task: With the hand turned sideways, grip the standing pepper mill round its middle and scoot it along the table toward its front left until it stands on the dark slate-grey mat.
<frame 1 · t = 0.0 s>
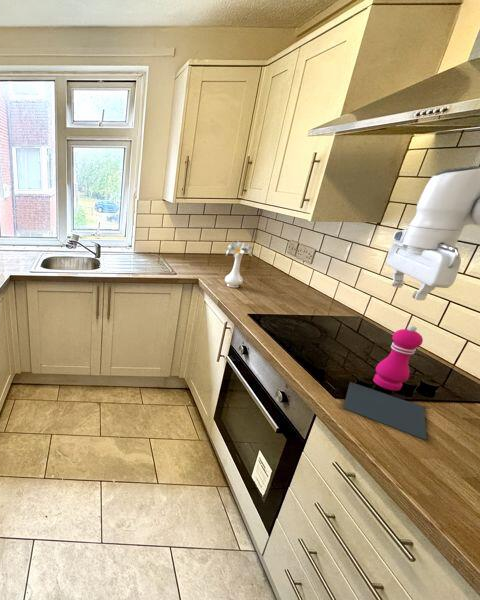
hand: (406, 292, 81), 31 cm above the worktop, tool pointing down, fingers open, 8 cm apart
flower vase: (231, 285, 178), on the worktop
pepper mill: (386, 384, 96), on the worktop
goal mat: (383, 407, 86), on the worktop
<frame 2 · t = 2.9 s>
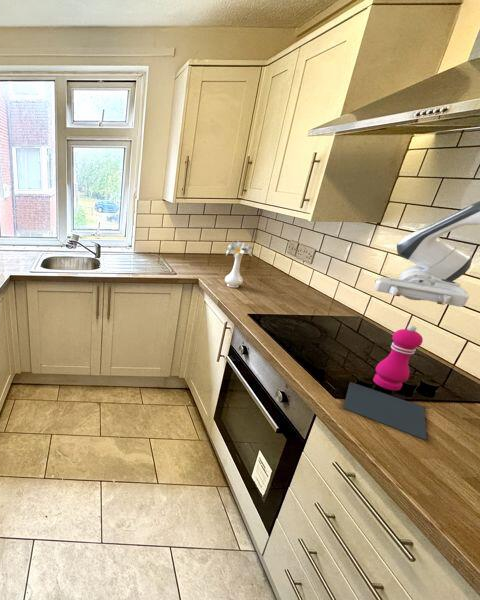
hand: (419, 297, 94), 25 cm above the worktop, tool horizontal, fingers open, 8 cm apart
nothing on the worktop moved.
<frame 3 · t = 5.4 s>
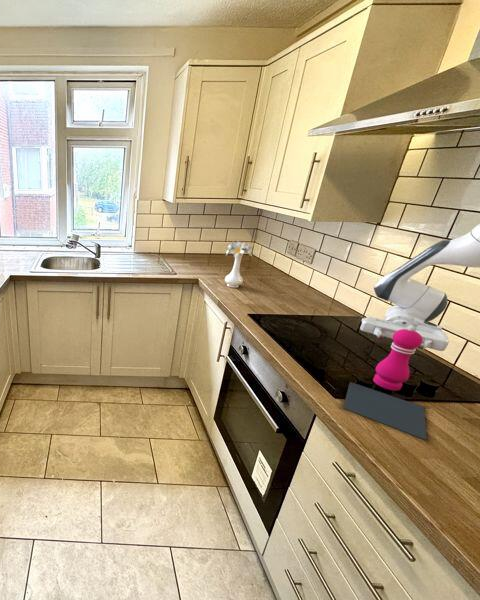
hand: (401, 341, 98), 11 cm above the worktop, tool horizontal, fingers open, 8 cm apart
nothing on the worktop moved.
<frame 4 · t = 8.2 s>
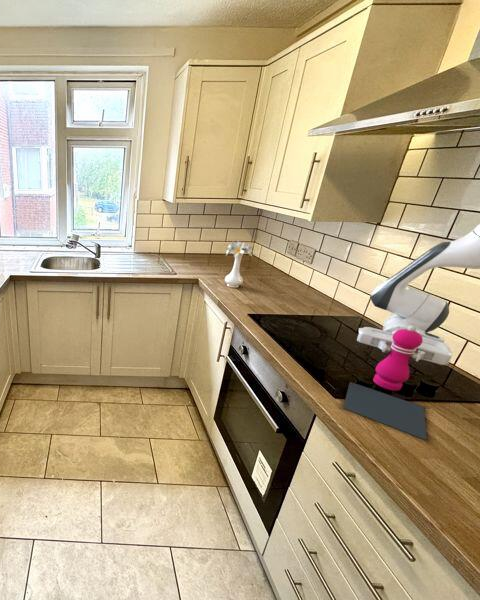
hand: (400, 354, 91), 11 cm above the worktop, tool horizontal, fingers closed on pepper mill, 5 cm apart
pepper mill: (386, 384, 96), on the worktop, touching gripper
everything else where it was.
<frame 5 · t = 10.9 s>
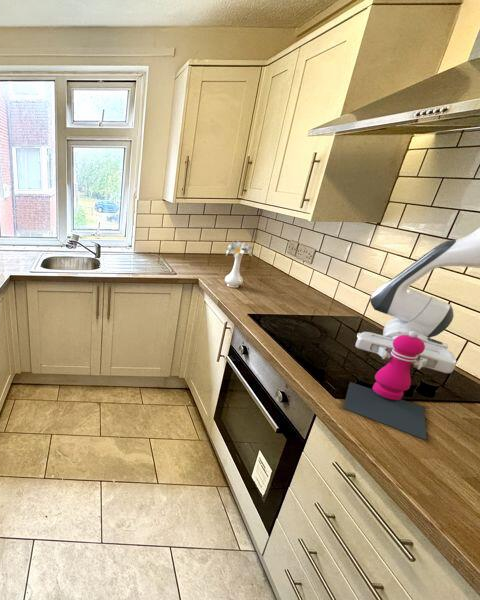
hand: (401, 361, 86), 12 cm above the worktop, tool horizontal, fingers closed on pepper mill, 5 cm apart
pepper mill: (386, 393, 91), point 1 cm above the worktop, touching gripper
everything else where it was.
when the fingers open (11 cm above the worktop, at t = 13.5 s): pepper mill stays where it is, resting on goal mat.
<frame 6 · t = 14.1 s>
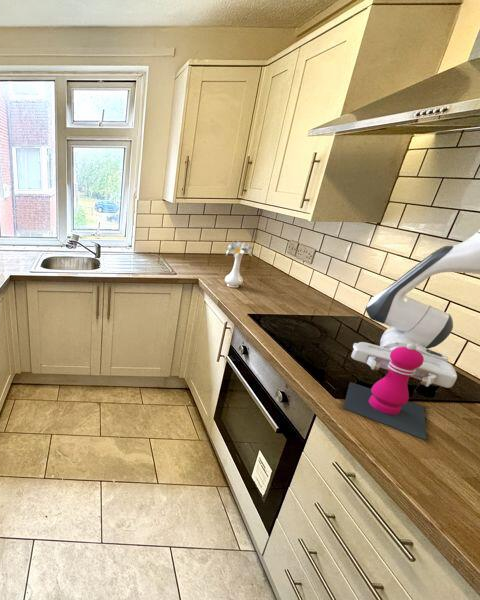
hand: (399, 375, 81), 11 cm above the worktop, tool horizontal, fingers open, 8 cm apart
pepper mill: (383, 407, 86), resting on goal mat
everything else where it was.
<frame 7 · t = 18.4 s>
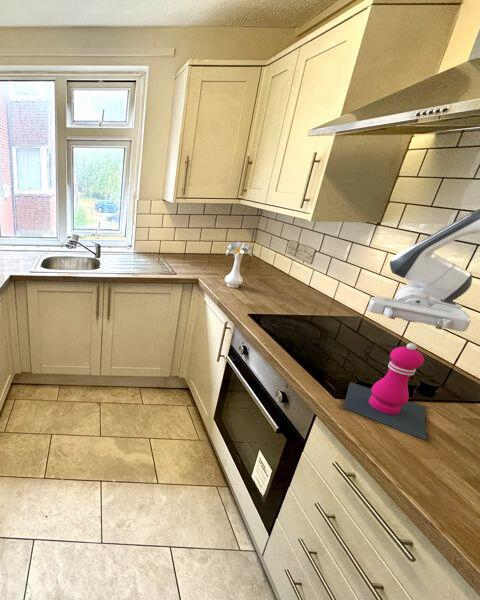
hand: (415, 321, 86), 22 cm above the worktop, tool horizontal, fingers open, 8 cm apart
nothing on the worktop moved.
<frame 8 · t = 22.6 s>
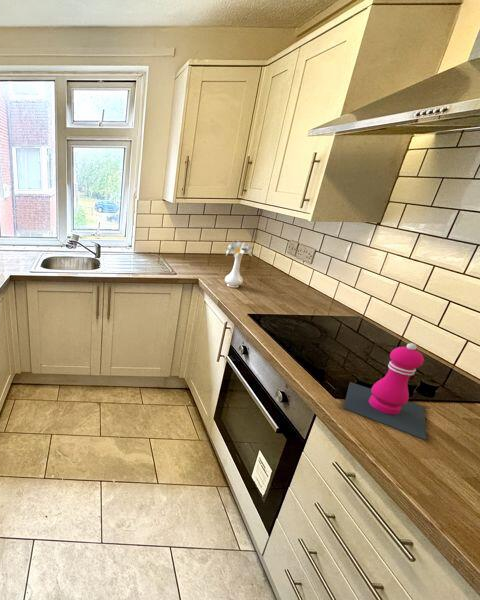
nothing on the worktop moved.
at the end: pepper mill inside the target area (0.1 cm from its centre), resting on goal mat; pepper mill tilted 0°; the gripper is holding nothing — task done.
